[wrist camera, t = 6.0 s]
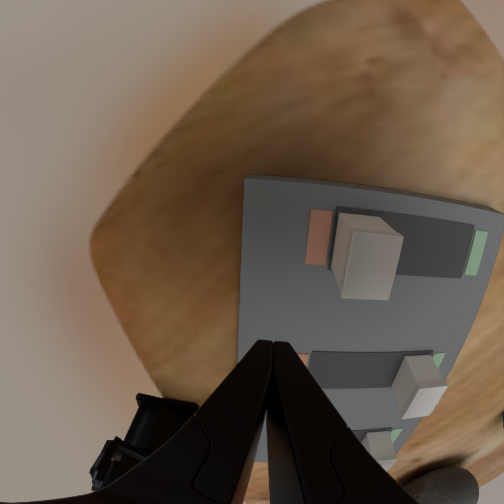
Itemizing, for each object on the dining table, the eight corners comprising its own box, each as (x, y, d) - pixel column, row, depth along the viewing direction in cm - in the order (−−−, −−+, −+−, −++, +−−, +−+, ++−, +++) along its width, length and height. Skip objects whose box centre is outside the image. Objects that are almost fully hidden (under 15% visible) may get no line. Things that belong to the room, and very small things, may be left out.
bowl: (373, 500, 35) (378, 545, 26) (404, 464, 29) (417, 521, 20) (442, 484, 34) (452, 523, 24) (481, 443, 28) (499, 489, 19)
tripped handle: (330, 267, 17) (341, 298, 14) (338, 211, 16) (353, 231, 13) (370, 269, 17) (388, 300, 14) (380, 216, 16) (403, 236, 12)
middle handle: (390, 386, 20) (401, 419, 17) (404, 355, 19) (419, 389, 16) (416, 384, 20) (429, 415, 17) (431, 354, 19) (448, 385, 16)
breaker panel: (237, 445, 28) (235, 460, 26) (248, 174, 18) (244, 178, 16) (390, 444, 27) (393, 458, 25) (491, 207, 17) (507, 215, 15)
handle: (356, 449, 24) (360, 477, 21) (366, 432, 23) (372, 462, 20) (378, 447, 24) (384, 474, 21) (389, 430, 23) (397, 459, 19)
